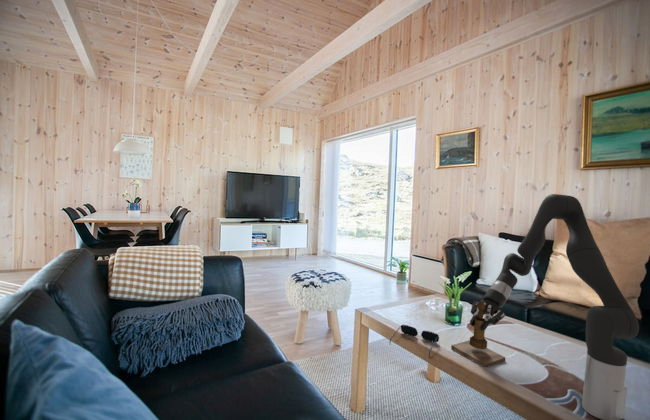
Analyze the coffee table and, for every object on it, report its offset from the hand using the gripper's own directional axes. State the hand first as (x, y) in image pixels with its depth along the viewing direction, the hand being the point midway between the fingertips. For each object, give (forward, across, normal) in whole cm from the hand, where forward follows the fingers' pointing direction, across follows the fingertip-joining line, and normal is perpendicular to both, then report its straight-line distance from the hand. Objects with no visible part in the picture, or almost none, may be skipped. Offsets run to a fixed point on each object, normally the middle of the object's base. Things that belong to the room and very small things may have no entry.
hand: (476, 327), depth 134 cm
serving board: (+7, 0, +10) cm, 12 cm away
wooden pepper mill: (+4, 0, +7) cm, 9 cm away
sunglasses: (+20, -18, -2) cm, 27 cm away
